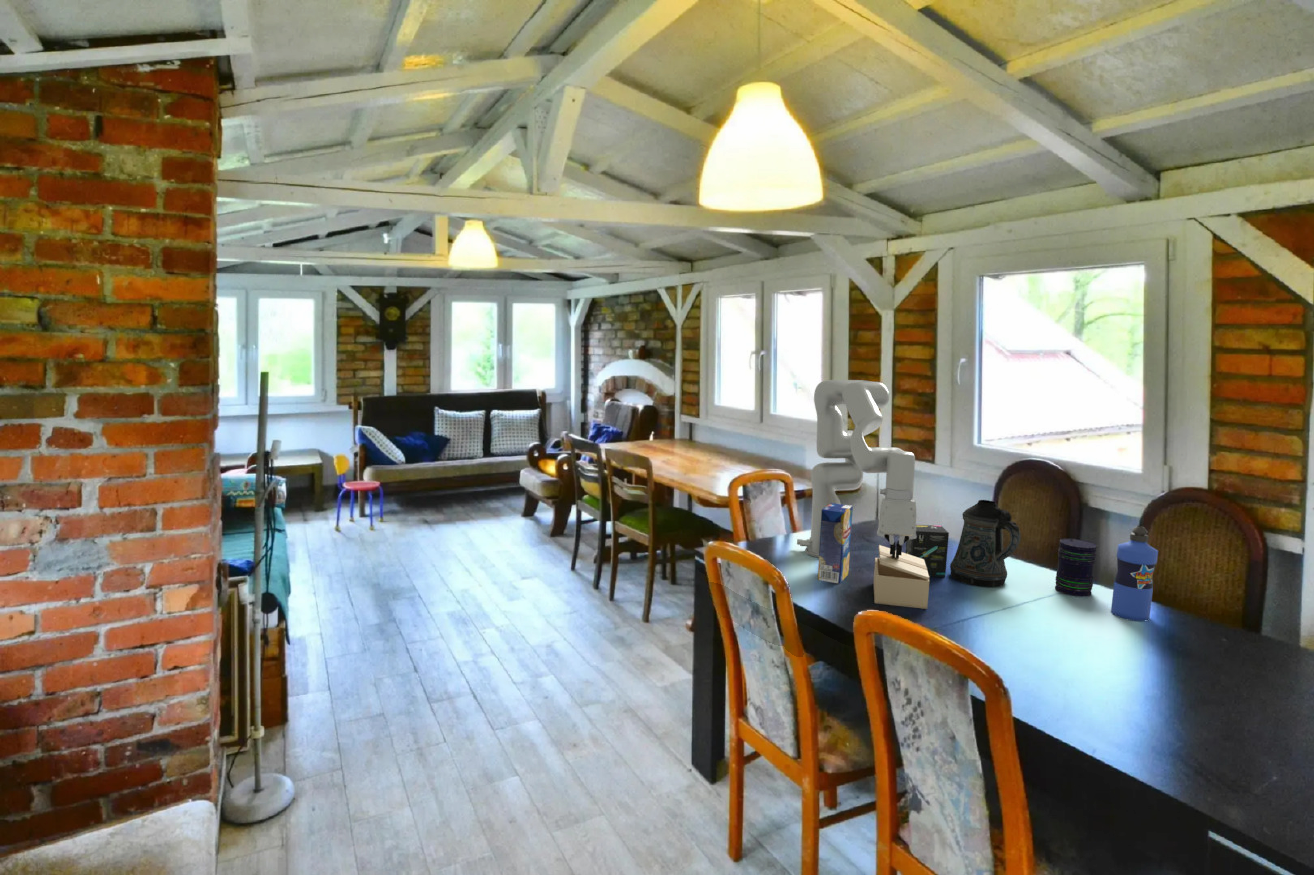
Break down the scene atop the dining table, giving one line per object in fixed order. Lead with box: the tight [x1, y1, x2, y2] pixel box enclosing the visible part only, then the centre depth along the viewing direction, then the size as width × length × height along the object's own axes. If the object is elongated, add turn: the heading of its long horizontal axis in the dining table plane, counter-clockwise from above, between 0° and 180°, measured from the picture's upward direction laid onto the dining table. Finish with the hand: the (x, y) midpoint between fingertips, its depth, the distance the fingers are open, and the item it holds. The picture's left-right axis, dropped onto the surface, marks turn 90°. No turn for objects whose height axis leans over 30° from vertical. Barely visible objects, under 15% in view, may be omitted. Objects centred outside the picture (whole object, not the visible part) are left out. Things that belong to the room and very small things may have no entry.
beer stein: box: [949, 499, 1022, 588], centre depth 232 cm, size 16×19×25 cm
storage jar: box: [1054, 538, 1098, 598], centre depth 224 cm, size 10×10×15 cm
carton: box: [873, 557, 930, 610], centre depth 217 cm, size 14×18×8 cm
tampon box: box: [905, 524, 950, 578], centre depth 239 cm, size 11×9×15 cm
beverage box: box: [817, 503, 854, 584], centre depth 231 cm, size 7×11×22 cm, turn 153°
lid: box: [878, 544, 930, 581], centre depth 216 cm, size 13×18×1 cm
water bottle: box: [1110, 525, 1159, 622], centre depth 205 cm, size 9×9×25 cm
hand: (895, 557), depth 215 cm, fingers closed
